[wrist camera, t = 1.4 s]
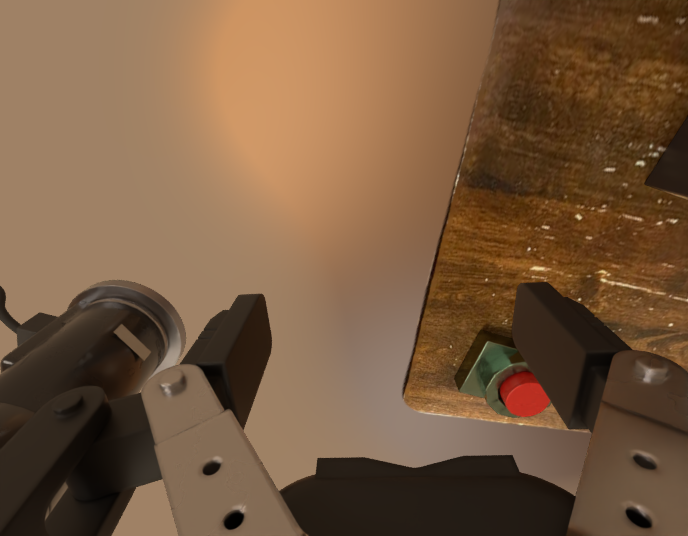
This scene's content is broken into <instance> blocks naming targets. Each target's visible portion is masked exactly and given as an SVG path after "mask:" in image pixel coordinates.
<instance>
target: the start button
mask: <svg viewBox="0 0 688 536" xmlns="http://www.w3.org/2000/svg"><path fill="white" fill-rule="evenodd" d="M500 395H501V398H502V400H503V401H504V403H505V405H506V407H507V409H508V410H509V411H510V412H511V413H512V414H514V415H517V416H521V417H527V416H533V415H536V414H538V413H540V412H541V411H543V410H544V409H545V408H546V407H547V406H548V404H549V402H550V399H549V398H548V396H547V395H546V393H545V392H544V390H543V388H542V387H541V385H540V384H539V382H538V381H537V379H536V378H535V376H534V374H533V373H532V372H518V373H515V374H513V375H511V376H510V377H508V378H506V379H505V380H504V381H503V383H502V384H501V387H500Z"/></svg>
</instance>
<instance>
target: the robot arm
mask: <svg viewBox="0 0 688 536" xmlns="http://www.w3.org/2000/svg"><path fill="white" fill-rule="evenodd" d="M5 301H6V295H5V291H4V289H3V288H2V287H1V286H0V320H1V321H2V322H3V323H4V324H5V325H6V326H7V327H8V328H10V329H11V330H12V331H14V332H15V333H16V334H17V343H18V347H17V348H16V349H14V350H13V351H12V352H10V353H9V354H8V355H6V356H5V357H4V358H3V359H2V360H1V363H0V367H1V374H0V536H111V535H112V533H113V531H114V529H115V528H116V526H117V524H118V522H119V520H120V518H121V516H122V514H123V512H124V510H125V508H126V506H127V504H128V503H129V501H130V499H131V497H132V495H133V493H134V491H135V489H136V487H138V486H141V485H145V484H148V483H151V482H155V481H158V480H161V479H163V481H164V485H165V488H166V492H167V496H168V499H169V502H170V506H171V510H172V514H173V517H174V521H175V524H176V528H177V532H178V535H179V536H688V372H687V371H686V370H685V369H683V368H682V367H681V366H679V365H678V364H677V363H675V362H673V361H671V360H669V359H667V358H665V357H662V356H659V355H656V354H653V353H649V352H645V351H637V350H632V349H631V348H630V347H629V346H628V345H627V344H626V343H625V342H623V341H622V340H621V339H620V338H619V337H618V336H617V335H616V334H615V333H614V332H612V331H611V330H610V329H609V328H608V327H607V326H604V323H602V322H601V321H600V320H599V319H598V318H597V317H594V314H593V313H591V312H590V311H589V310H588V309H587V308H586V307H585V306H584V305H582V304H580V303H578V302H576V301H574V300H572V299H570V298H568V297H563V296H562V295H561V294H560V293H559V292H558V291H557V290H555V289H554V288H553V287H552V286H551V285H550V284H549V283H547V282H536V283H521V284H519V286H518V288H517V293H516V301H515V308H514V316H513V323H512V336H513V341H514V344H515V346H516V348H517V349H518V351H519V353H520V354H521V356H522V357H523V359H524V360H525V362H526V363H527V365H528V367H529V368H530V370H531V371H532V373H533V374H534V376H535V378H536V379H537V381H538V382H539V384H540V385H541V387H542V388H543V390H544V392H545V393H546V395H547V396H548V398H549V399H550V401H551V403H552V404H553V406H554V407H555V409H556V410H557V412H558V413H559V415H560V417H561V418H562V420H563V421H564V423H565V424H566V426H567V428H568V429H589V430H590V432H591V433H592V436H591V439H590V443H589V447H588V451H587V454H586V458H585V462H584V466H583V470H582V473H581V477H580V481H579V485H578V488H577V492H576V496H574V495H572V494H571V493H569V492H567V491H566V490H564V489H562V488H560V487H558V486H556V485H554V484H553V483H550V482H548V481H545V480H543V479H541V478H538V477H535V476H532V475H528V474H524V473H521V472H519V469H518V467H517V465H516V463H515V460H514V458H513V455H498V456H497V455H492V456H462V457H457V458H453V459H450V460H446V461H442V462H438V463H434V464H430V465H427V466H423V467H418V468H411V467H406V466H402V465H397V464H392V463H388V462H383V461H378V460H374V459H369V458H365V457H364V458H363V457H361V458H360V457H359V458H318V460H317V467H316V474H315V475H311V476H308V477H305V478H303V479H300V480H298V481H296V482H294V483H292V484H290V485H288V486H286V487H285V488H283V489H282V490H280V491H278V489H277V488H276V486H275V484H274V482H273V481H272V479H271V478H270V476H269V474H268V472H267V470H266V469H265V467H264V465H263V464H262V462H261V460H260V459H259V457H258V455H257V453H256V452H255V450H254V448H253V447H252V445H251V443H250V441H249V440H248V438H247V436H246V435H245V433H244V431H243V430H244V427H245V424H246V422H247V419H248V416H249V413H250V410H251V407H252V404H253V402H254V399H255V396H256V393H257V390H258V388H259V385H260V382H261V379H262V376H263V374H264V370H265V368H266V365H267V362H268V359H269V356H270V354H271V348H272V337H271V330H270V324H269V318H268V313H267V307H266V301H265V297H264V295H263V294H246V295H238V297H237V298H236V300H235V301H234V303H233V304H232V306H231V308H230V309H229V310H223V311H222V312H220V313H218V314H217V315H216V316H215V317H213V318H212V319H210V321H209V323H208V324H207V325H206V327H205V328H204V331H202V333H201V334H200V336H199V337H198V340H196V341H195V343H194V344H193V346H192V347H191V349H190V350H189V351H188V353H187V355H186V356H185V357H184V359H183V360H182V362H181V363H180V365H176V366H172V367H169V368H166V369H164V370H162V371H160V372H158V373H157V374H155V375H154V376H152V377H151V375H152V374H153V373H154V372H155V370H156V369H157V368H158V367H159V365H160V364H161V363H162V362H163V360H164V359H165V357H166V355H167V353H168V349H169V339H168V335H167V332H166V329H165V327H164V326H163V324H162V322H161V321H160V320H159V319H158V318H157V316H156V315H155V314H153V313H152V312H151V311H150V310H149V309H147V308H146V307H144V306H142V305H141V304H139V303H137V302H134V301H132V300H128V299H124V298H118V297H106V298H100V299H97V300H95V301H92V302H85V301H79V302H78V303H76V304H75V305H74V306H72V307H71V308H70V309H68V310H67V311H66V312H64V313H63V314H62V315H60V316H59V317H56V316H52V315H48V314H44V313H38V314H37V315H35V316H34V317H32V318H31V319H29V320H28V321H26V322H25V323H23V324H22V325H20V324H19V323H18V322H17V321H16V320H14V319H13V318H12V317H11V316H10V314H9V313H8V312H7V310H6V308H5ZM150 377H151V378H150ZM149 378H150V379H149ZM148 379H149V380H148ZM141 389H142V391H141V393H139V392H140V390H141Z"/></svg>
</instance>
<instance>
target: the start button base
mask: <svg viewBox="0 0 688 536" xmlns="http://www.w3.org/2000/svg"><path fill="white" fill-rule="evenodd" d="M518 372H532V371H531V370H530V368H529V367H528V365H527V363H526V362H525V360H524V359H523V357H522V356H521V354H520V353H519V351H518V349H517V348H516V346H515V344H514V341H513V339H512V338H509V337H505V336H502V335H498V334H495V333H491V332H488V331H484V330H480V332H479V334H478V336H477V337H476V339H475V341H474V343H473V345H472V347H471V348H470V350H469V352H468V354H467V356H466V358H465V359H464V361H463V363H462V365H461V367H460V368H459V370H458V372H457V374H456V376H455V378H454V380H455V382H456V385H457V387H458V390H459V392H462V393H466V394H470V395H474V396H478V397H481V398H485V399H486V402H487V404H488V405H489V406H490V407H491V408H492V409H493V410H494V411H495V412H496V413H498V414H500V415H504V416H508V417H512V418H517V417H521V416H517V415H514V414H512V413H511V412H510V411H509V410H508V409H507V407H506V405H505V403H504V401H503V400H502V398H501V395H500V387H501V384H502V383H503V381H504V380H505V379H506V378H508V377H510V376H511V375H513V374H515V373H518ZM550 404H551V401H550V402H549V404H548V406H550ZM548 406H547V407H548ZM541 412H542V411H541ZM541 412H540V413H541Z"/></svg>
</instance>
